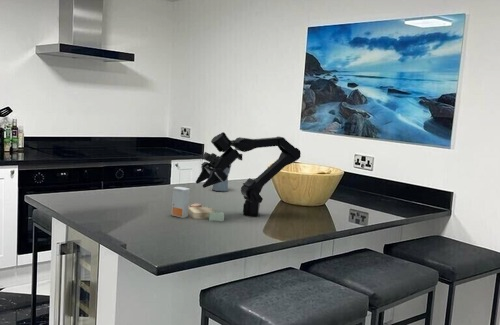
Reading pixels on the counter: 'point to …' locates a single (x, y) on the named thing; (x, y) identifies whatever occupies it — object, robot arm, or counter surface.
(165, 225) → the counter surface
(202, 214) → the beech slab
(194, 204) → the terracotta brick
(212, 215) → the sage brick
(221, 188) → the moka pot
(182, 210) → the skincare box
